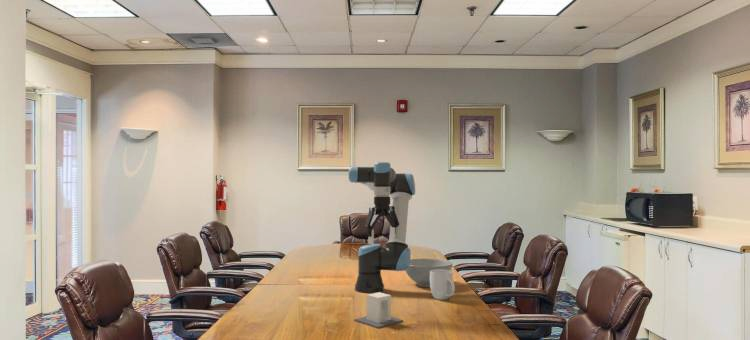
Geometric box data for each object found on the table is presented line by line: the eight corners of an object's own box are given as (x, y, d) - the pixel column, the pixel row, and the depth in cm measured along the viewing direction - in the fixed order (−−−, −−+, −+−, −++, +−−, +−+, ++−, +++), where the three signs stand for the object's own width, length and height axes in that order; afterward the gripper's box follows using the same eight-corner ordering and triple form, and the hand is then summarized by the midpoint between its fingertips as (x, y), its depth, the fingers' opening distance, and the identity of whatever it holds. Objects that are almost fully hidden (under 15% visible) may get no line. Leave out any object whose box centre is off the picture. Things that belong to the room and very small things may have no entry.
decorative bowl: (394, 281, 286) (394, 260, 286) (436, 278, 297) (436, 257, 297) (417, 291, 261) (417, 268, 262) (462, 287, 272) (462, 264, 272)
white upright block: (378, 323, 204) (378, 297, 204) (366, 319, 209) (366, 294, 209) (390, 319, 209) (390, 295, 209) (378, 316, 214) (379, 292, 214)
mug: (462, 300, 243) (462, 273, 243) (445, 303, 237) (445, 275, 237) (442, 294, 256) (442, 268, 256) (424, 297, 250) (424, 270, 250)
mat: (354, 320, 209) (354, 319, 209) (379, 314, 218) (379, 313, 218) (377, 328, 199) (377, 326, 199) (402, 321, 208) (403, 320, 208)
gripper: (367, 197, 223) (367, 245, 222) (406, 195, 240) (406, 241, 239) (356, 196, 228) (355, 244, 228) (395, 195, 245) (395, 239, 245)
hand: (381, 242), depth 234 cm, fingers open, 13 cm apart
